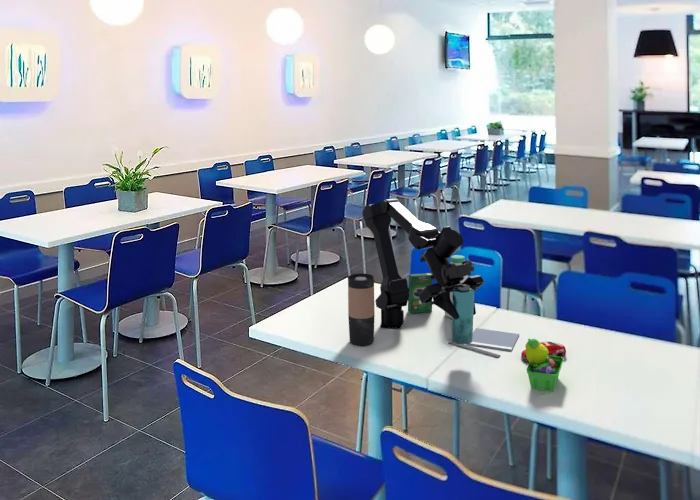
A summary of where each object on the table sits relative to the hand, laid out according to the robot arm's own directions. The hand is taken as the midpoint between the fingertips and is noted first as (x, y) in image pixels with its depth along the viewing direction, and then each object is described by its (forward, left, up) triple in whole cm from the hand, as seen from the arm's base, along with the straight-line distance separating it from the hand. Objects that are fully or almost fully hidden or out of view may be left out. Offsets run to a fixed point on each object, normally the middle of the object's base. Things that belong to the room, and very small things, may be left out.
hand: (466, 316), depth 162 cm
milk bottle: (-3, +38, -14) cm, 40 cm away
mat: (+8, +18, -13) cm, 24 cm away
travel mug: (-30, +11, -14) cm, 35 cm away
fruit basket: (+19, -8, -14) cm, 25 cm away
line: (+2, +10, -13) cm, 17 cm away
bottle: (-1, +1, -7) cm, 7 cm away
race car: (+21, +8, -14) cm, 26 cm away
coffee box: (-15, +40, -14) cm, 45 cm away
